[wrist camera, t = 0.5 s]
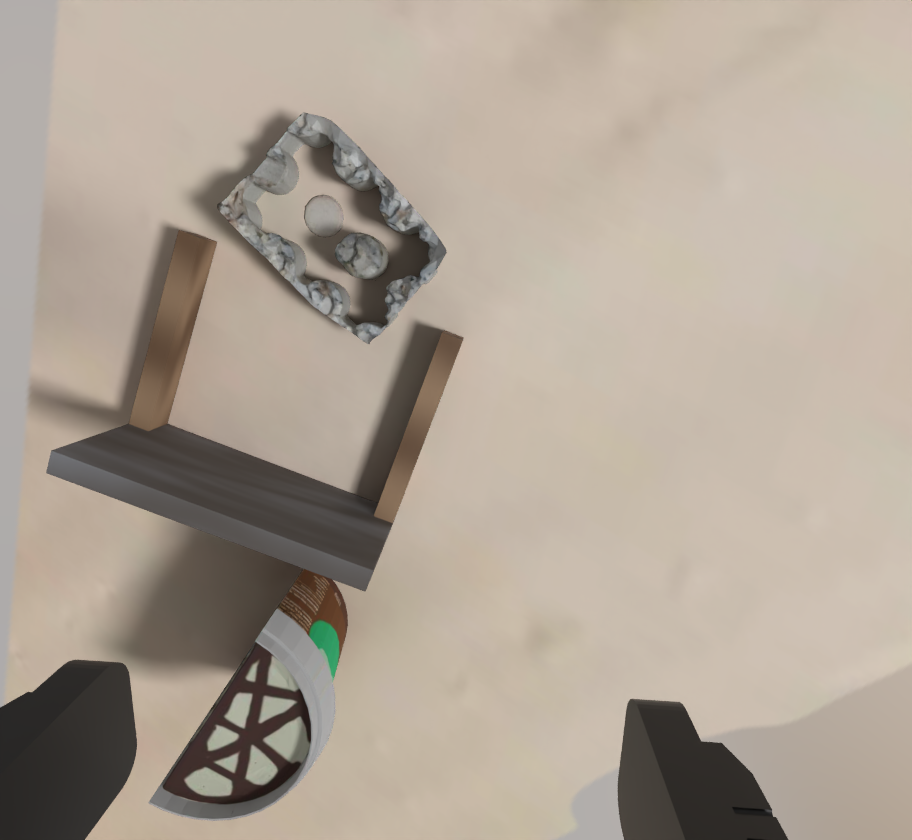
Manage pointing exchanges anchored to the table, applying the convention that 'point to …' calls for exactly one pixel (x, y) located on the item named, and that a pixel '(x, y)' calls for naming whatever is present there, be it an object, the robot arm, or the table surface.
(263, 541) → the display stand
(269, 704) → the food container
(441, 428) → the table surface
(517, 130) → the table surface
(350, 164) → the egg carton
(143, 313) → the table surface
